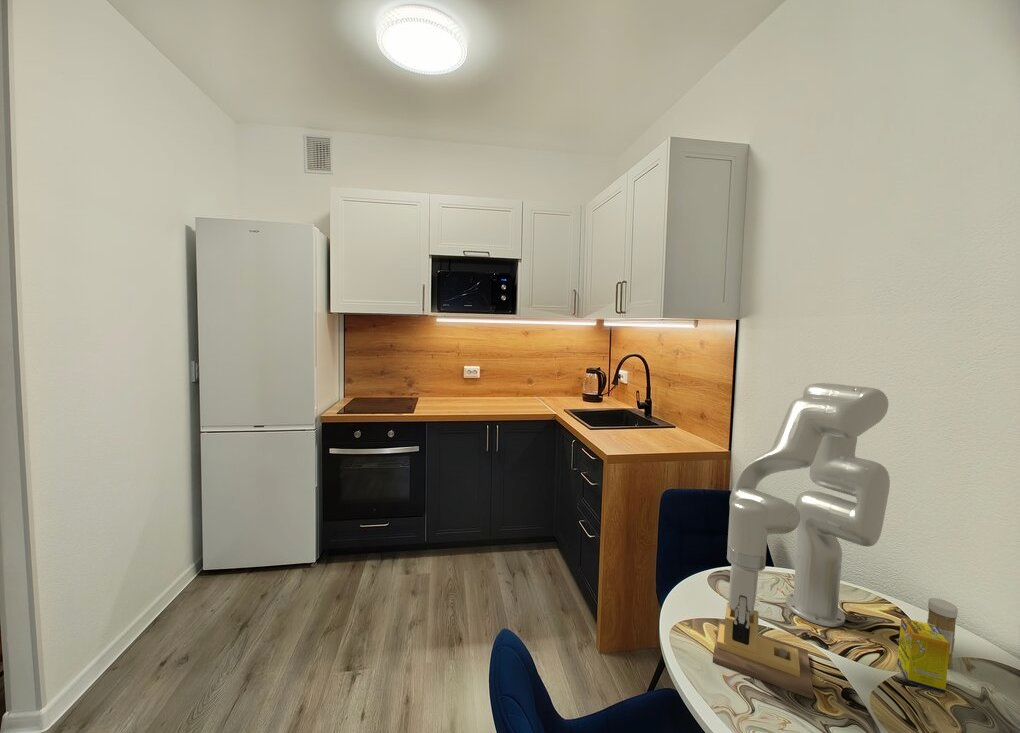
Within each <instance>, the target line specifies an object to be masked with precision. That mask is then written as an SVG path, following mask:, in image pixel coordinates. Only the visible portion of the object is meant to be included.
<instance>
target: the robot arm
mask: <svg viewBox="0 0 1020 733" xmlns="http://www.w3.org/2000/svg"><path fill="white" fill-rule="evenodd" d="M888 410H889V399H888V397H887V395H886V393H884V392H883V391H882V390H881V389H879V388H876V387H868V386H859V385H847V384H846V385H845V384H837V383H829V382H828V383H827V382H826V383H825V382H821V383H820V382H818V383H817V382H816V383H811V384H808V385H807V386H806V387H805V388H804V389H803V394H802V397H798V398H796V399H794V400H793V401H792V402H791V403H790V404H789V406H788V408H787V411H786V413H785V415H784V418H783V421H782V423H781V426H780V428H779V430H778V433H777V434H776V438H775V440H774V442H773V444H772V447H771V448H770V450H768V451H767V452H764V453H762V454H760V455H759V456H757V457H756V458H754V459H752V460H751V461H750V462H749V463H747V464H746V465H744V467H743V468H742V470H741V471H740V472H739V474H738V476H737V478H736V479H735V482H734V484H733V487H732V490H731V491H730V495H729V516H728V532H727V534H728V535H727V550H726V552H727V554H726V559H727V561H728V563H729V564H731V565H730V573H729V574H730V575H729V591H728V602H729V603H728V607H729V609H730V610H731V609H732V610H735V620H734V621H733V632H732V639H733V640H734V641H737V642H740V643H743V644H745V645H749V636H750V626H749V615H750V616H751V615H753V611H754V610H755V607H756V606H755V605H756V600H757V598H756V597H757V590H758V583H759V572H762V571H763V570H765V569H766V562H767V561H766V560H767V544H768V536H769V535H786V534H789V533H792V532H793V531H795V530H796V529H797V536H796V537H797V538H796V540H797V541H796V554H795V555H796V556H795V565H794V566H795V568H794V580H793V581H794V582H793V583H794V584H793V592H792V593H790V594H787V596H786V598H785V604H786V607H787V608H788V609H789V611H791V612H792V613H793V614H795V615H796V616H798V617H800V618H801V619H803V620H805V621H807V622H810V623H813V624H815V625H819V626H823V627H829V628H831V627H832V628H837V627H841V626H843V625H844V624H845V623H846V615H845V613H844V611H842V610H841V608H839V602H840V601H839V600H840V589H841V588H840V587H841V577H842V576H841V573H842V563H843V550H842V546H841V544H840V541H839V539H841V540H843V541H846V542H849V543H852V544H855V545H857V546H860V547H873V546H874V545H876V544H877V543H878V541H879V540H880V537H881V534H882V530H883V525H884V521H885V516H886V515H885V514H886V509H887V505H888V498H889V493H890V485H891V483H890V482H891V479H890V475H889V474H890V473H889V472H888V470H887V468H886V467H885V466H884V465H883V464H881V463H879V462H877V461H875V460H870V459H865V458H860V457H856V449H857V442H858V437H860V436H861V435H863V434H864V433H866V432H867V431H868V430H870V429H871V428H873V427H874V426H876V425H877V424H879V423H880V422H881V421H882V420H883V419H884V417H885V416H886V415H887V412H888ZM807 468H809V478H810V480H811V481H812V483H813V484H814V485H818V486H819V487H822V488H824V489H828V490H831V491H834V492H838V493H841V494H844V495H848V496H851V497H854V498H856V502H855V501H851V500H847V499H845V498H842V497H839V496H835V495H833V494H830V493H825V492H821V491H815V490H806V491H803V492H801V493H800V494H798V495H797V497H796V499H795V504H793V503H792V502H790V501H787V500H785V499H782V498H779V497H777V496H773V495H771V494H768V493H765V492H762V491H759V490H757V489H756V488H757V486H758V485H759V484H760V482H761V481H762V480H763V479H765V478H766V477H768V476H770V475H772V474H775V473H780V472H781V473H782V472H785V471H792V470H793V471H794V470H802V469H807ZM838 538H839V539H838ZM737 606H739V609H738V608H737ZM746 609H748V611H746ZM738 613H739V617H738ZM745 615H747V618H746V619H745Z"/></svg>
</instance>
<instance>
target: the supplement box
mask: <svg viewBox="0 0 1020 733" xmlns="http://www.w3.org/2000/svg"><path fill="white" fill-rule="evenodd" d="M949 650H950V643H949V642H948V641H947V640H946V638H945V637H944V636H943V634H942V633H941V632H940V630H939V629H938V628H937V626H936V625H932V624H927V622H926V623H925V622H922V621H918V620H913V619H909V618H906V617H901V618H900V627H899V640H898V650H897V651H898V652H897V661H896V663H897V665H898V668H900V670H901V672H902V674H903V676H904V678H905V679H906V682H907V683H908V684H910V685H913V686H917V687H920V688H923V689H928V690H930V691H935V692H939V693H943V694H945V693H946V688H947V678H948V660H949Z"/></svg>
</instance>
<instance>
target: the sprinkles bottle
mask: <svg viewBox="0 0 1020 733" xmlns="http://www.w3.org/2000/svg"><path fill="white" fill-rule="evenodd" d="M927 602H928V603H927V608H928V614H927V622H926V623H927V624H932V625H936V626H937V628H938V629H939V630H940V632H941V633H942V634H943V636H944V637H945V638H946V640H947V641H948V642H949V643H950V650H949V660H948V668H952V667H953V656H954V655H953V654H954V651H955V635H956V634H955V633H956V623H957V621H956V619H958V613H959V612H958V611H959V610H958V607H957V606H956V605H955V604H954V603H952V602H950V601H948V600H945V599H942V598H936V597H931V598H929V599H928V600H927Z"/></svg>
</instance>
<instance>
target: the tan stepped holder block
mask: <svg viewBox="0 0 1020 733" xmlns="http://www.w3.org/2000/svg"><path fill="white" fill-rule="evenodd" d="M728 603H729V601H727V602H726V609H725V615H724V623H725V625H723V624H720V625H719V632H718V638H717V648H719V649H722V650H725V651H728V652H731V653H733V654H736V655H739V656H742V657H745V658H748V659H750V660H753V661H756V662H759V663H762V664H764V665H767V666H770V667H773V668H776V669H778V670H781V671H784V672H787V673H790V674H793V675H795V676H798V677H800V665H799V657H798V649H796V648H793V647H790V646H787V645H784V644H781V643H777V642H774V641H771V640H768V639H765V638H762V637H759V636H758V634H759V610H755V609H754V611H753V615H751V616H750V615H749V626H750V636H749V645H745V644H743V643H740V642H737V641H734V640H733V639H732V632H733V621H734V620H735V610H732V609H731V610H730V609H729V607H728ZM737 608H738V609H739V606H737ZM746 611H748V609H746ZM738 617H739V613H738ZM746 618H747V615H745V619H746ZM780 648H782V649H785V650H786V651H787V655H786V658H789V659H790V660H787V659H784V658H781V657H778V656H775V655H774V653H775V654H778V655H779V649H780Z"/></svg>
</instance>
